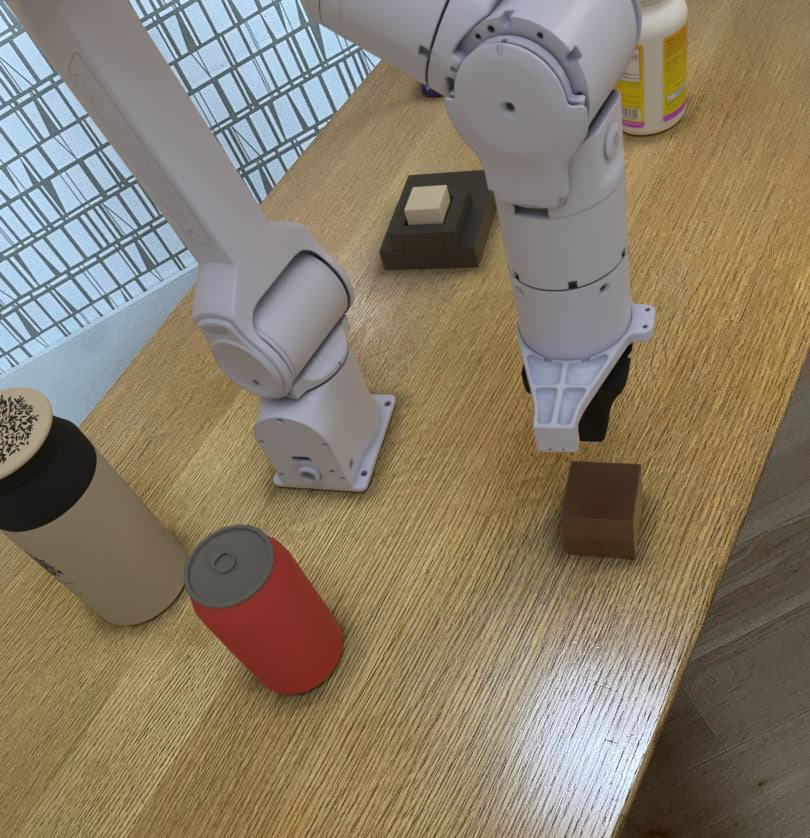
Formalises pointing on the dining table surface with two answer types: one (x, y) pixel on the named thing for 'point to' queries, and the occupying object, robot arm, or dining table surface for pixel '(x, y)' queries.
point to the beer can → (263, 608)
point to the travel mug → (81, 515)
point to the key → (427, 205)
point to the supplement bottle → (656, 70)
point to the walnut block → (602, 509)
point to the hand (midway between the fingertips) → (587, 432)
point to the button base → (442, 225)
